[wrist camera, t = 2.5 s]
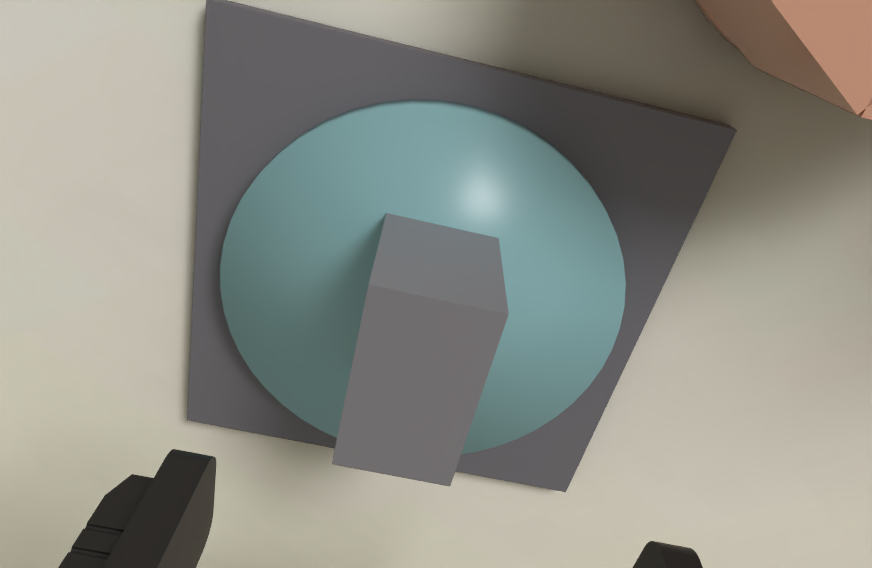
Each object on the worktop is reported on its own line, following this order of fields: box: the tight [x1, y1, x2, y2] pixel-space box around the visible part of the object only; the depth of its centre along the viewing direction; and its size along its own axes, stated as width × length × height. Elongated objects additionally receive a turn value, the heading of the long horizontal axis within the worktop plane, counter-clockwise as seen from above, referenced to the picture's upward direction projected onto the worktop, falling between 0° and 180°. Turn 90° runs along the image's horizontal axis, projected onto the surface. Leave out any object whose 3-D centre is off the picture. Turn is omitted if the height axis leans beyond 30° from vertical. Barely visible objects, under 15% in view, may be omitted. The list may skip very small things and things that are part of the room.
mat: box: [187, 0, 737, 492], centre depth 20 cm, size 14×14×1 cm
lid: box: [220, 99, 626, 486], centre depth 17 cm, size 12×12×5 cm
